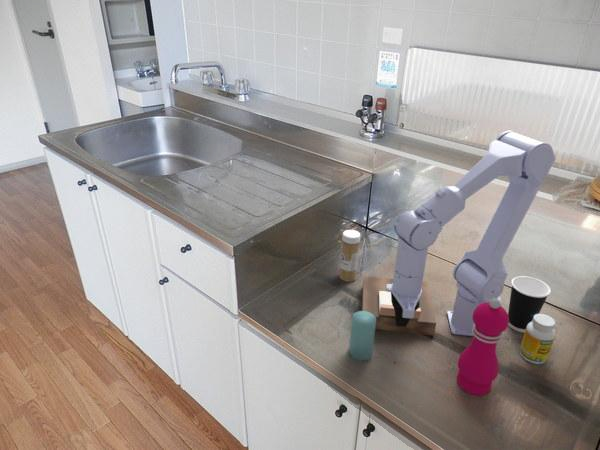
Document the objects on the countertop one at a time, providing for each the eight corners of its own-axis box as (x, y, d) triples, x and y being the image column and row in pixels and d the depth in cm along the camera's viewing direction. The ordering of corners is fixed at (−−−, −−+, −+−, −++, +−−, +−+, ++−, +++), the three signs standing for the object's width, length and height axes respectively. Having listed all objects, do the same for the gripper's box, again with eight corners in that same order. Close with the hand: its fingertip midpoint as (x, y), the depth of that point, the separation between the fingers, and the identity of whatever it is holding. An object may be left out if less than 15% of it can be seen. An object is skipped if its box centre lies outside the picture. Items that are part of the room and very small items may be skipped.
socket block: (426, 293, 114) (428, 282, 113) (433, 335, 100) (436, 323, 99) (362, 287, 116) (363, 276, 115) (361, 327, 102) (362, 315, 100)
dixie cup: (500, 311, 109) (510, 272, 104) (536, 319, 106) (549, 280, 101) (500, 331, 102) (512, 291, 97) (539, 340, 99) (552, 299, 94)
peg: (372, 345, 97) (376, 312, 93) (372, 361, 93) (376, 327, 88) (349, 343, 97) (352, 309, 93) (348, 359, 93) (351, 324, 89)
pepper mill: (472, 402, 84) (495, 316, 75) (446, 375, 90) (465, 292, 81) (501, 391, 86) (527, 306, 77) (474, 365, 92) (495, 284, 83)
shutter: (415, 297, 107) (417, 287, 106) (419, 321, 99) (420, 311, 98) (378, 293, 108) (380, 283, 107) (379, 317, 100) (380, 307, 99)
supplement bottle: (531, 344, 98) (542, 308, 94) (552, 360, 94) (565, 324, 90) (513, 351, 96) (524, 315, 92) (534, 368, 92) (546, 331, 88)
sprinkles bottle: (335, 276, 121) (338, 232, 114) (348, 271, 123) (352, 227, 117) (347, 284, 117) (351, 239, 111) (360, 278, 120) (364, 234, 114)
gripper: (387, 250, 96) (381, 301, 103) (390, 288, 84) (382, 345, 90) (421, 253, 96) (412, 305, 102) (429, 292, 83) (418, 349, 89)
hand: (401, 324), depth 96 cm, fingers closed
